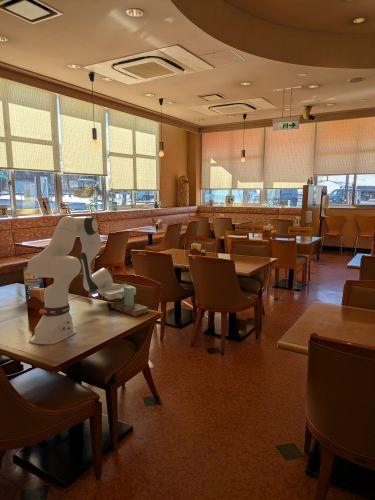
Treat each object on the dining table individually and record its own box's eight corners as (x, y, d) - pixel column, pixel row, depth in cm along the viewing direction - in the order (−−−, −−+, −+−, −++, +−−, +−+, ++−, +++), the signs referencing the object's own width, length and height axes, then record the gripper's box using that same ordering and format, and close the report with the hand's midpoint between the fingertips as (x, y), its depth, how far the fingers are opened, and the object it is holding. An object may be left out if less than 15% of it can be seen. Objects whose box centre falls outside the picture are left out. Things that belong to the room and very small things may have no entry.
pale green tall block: (134, 310, 214) (133, 287, 212) (130, 311, 212) (129, 288, 210) (128, 308, 218) (128, 286, 215) (124, 309, 215) (124, 287, 213)
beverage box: (44, 301, 233) (42, 268, 230) (25, 303, 229) (23, 269, 226) (44, 298, 239) (41, 266, 236) (26, 300, 235) (23, 267, 232)
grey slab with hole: (148, 312, 211) (148, 307, 211) (134, 316, 204) (134, 311, 203) (124, 304, 226) (124, 299, 225) (111, 308, 219) (111, 303, 218)
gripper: (99, 289, 215) (113, 293, 206) (127, 283, 230) (141, 286, 221) (100, 299, 216) (114, 304, 207) (127, 292, 231) (141, 296, 222)
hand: (128, 295), depth 214 cm, fingers open, 8 cm apart
